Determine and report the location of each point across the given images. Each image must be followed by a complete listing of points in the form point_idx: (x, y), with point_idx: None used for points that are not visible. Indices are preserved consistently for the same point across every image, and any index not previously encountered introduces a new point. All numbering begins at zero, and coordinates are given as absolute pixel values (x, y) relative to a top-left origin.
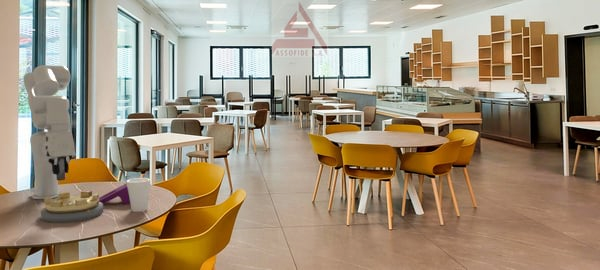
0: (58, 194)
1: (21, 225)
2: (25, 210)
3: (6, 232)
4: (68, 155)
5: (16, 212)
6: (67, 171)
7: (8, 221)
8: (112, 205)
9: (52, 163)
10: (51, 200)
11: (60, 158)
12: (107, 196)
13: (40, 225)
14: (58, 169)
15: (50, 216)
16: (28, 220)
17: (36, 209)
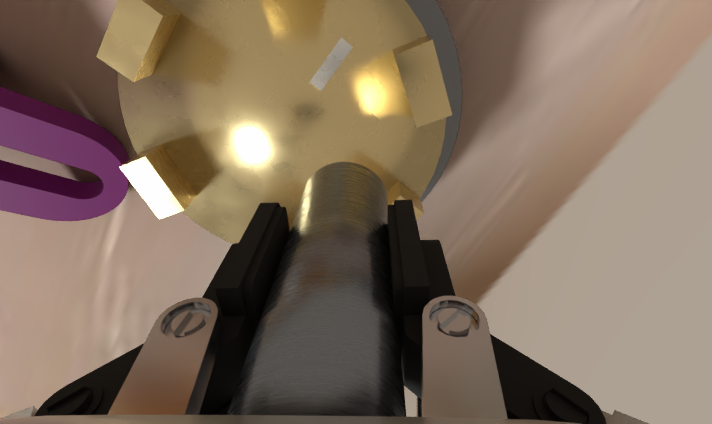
0: None
1: (544, 140)
2: None
3: (663, 84)
4: (107, 417)
5: None
6: (269, 208)
7: (517, 244)
8: (67, 93)
9: (500, 342)
10: None
11: (347, 396)
12: (50, 130)
13: (511, 54)
14: (401, 233)
15: (458, 65)
16: (472, 192)
17: None
